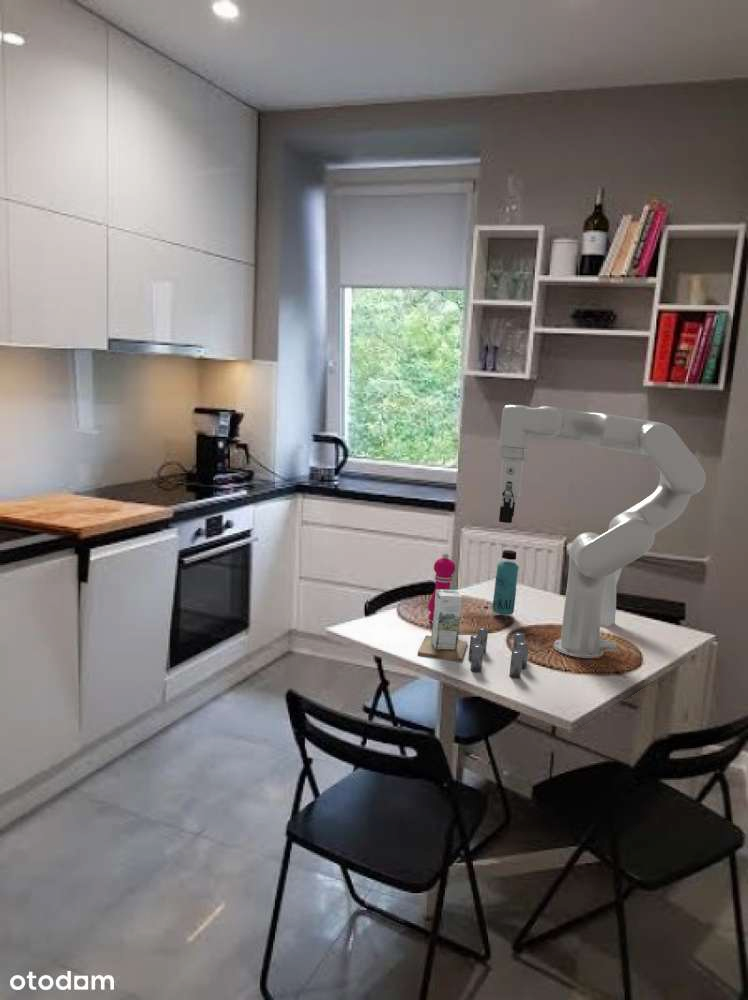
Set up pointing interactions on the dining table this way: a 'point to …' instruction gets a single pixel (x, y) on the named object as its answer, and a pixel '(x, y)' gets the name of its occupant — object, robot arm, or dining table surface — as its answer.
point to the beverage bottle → (505, 584)
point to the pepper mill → (441, 578)
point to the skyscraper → (610, 599)
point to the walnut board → (430, 651)
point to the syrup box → (446, 619)
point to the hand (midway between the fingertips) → (506, 519)
